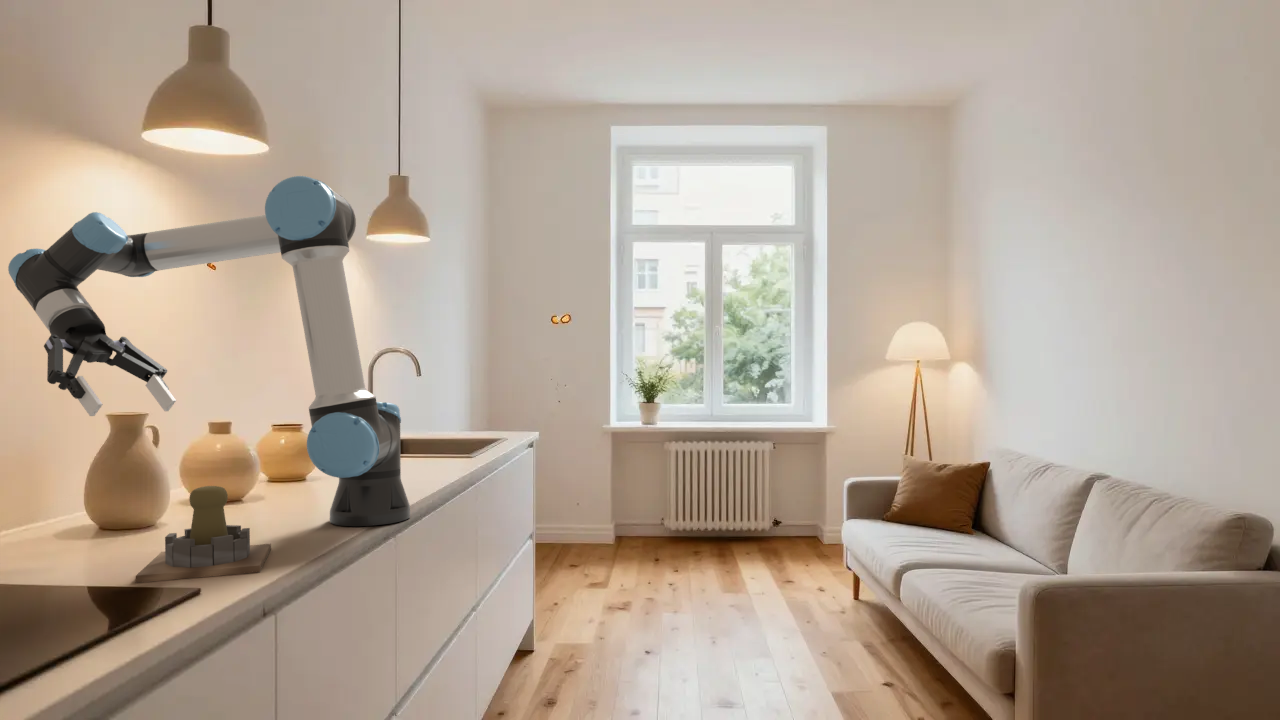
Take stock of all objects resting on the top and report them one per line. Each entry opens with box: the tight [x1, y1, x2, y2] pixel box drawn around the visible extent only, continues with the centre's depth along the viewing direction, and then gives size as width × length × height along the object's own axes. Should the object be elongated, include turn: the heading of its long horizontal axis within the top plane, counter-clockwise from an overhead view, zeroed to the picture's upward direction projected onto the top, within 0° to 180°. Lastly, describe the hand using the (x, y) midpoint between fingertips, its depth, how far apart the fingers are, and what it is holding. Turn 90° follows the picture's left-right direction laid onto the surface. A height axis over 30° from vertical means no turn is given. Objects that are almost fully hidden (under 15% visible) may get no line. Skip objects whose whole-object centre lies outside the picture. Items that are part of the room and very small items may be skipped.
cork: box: [189, 485, 229, 545], centre depth 126 cm, size 6×6×11 cm
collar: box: [135, 524, 272, 584], centre depth 126 cm, size 16×16×5 cm
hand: (135, 408), depth 138 cm, fingers open, 13 cm apart
